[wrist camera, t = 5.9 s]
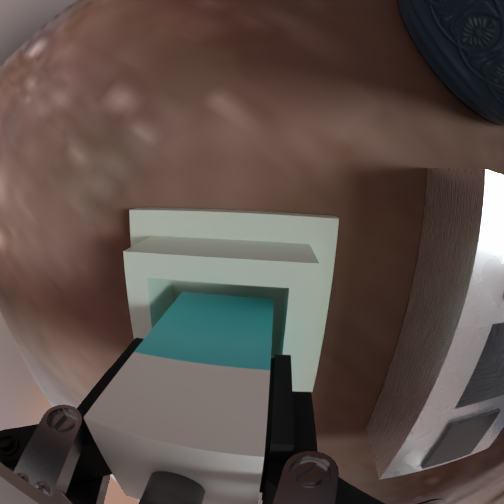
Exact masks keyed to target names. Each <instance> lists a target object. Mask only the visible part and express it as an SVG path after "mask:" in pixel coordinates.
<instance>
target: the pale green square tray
mask: <svg viewBox="0 0 504 504" xmlns="http://www.w3.org/2000/svg"><path fill="white" fill-rule="evenodd" d="M129 216H130V239H131V247H130V248H128V249H126V250H125V251H123V256H124V268H125V278H126V287H127V296H128V304H129V311H130V318H131V325H132V331H133V337H134V339H135V338H142V339H144V338H145V337H146V336H147V335H148V333H149V332H150V331H151V330H152V328H153V327H154V326H155V325H156V323H157V322H158V321H159V320H160V318H161V317H162V316H163V315H164V314H165V312H166V311H167V310H168V309H169V307H170V306H171V305H172V304H173V302H174V301H175V300H176V299H177V298H178V296H179V295H180V294H181V293H182V292H193V293H204V294H216V295H228V296H241V297H254V298H269V299H274V306H273V328H272V348H271V358H275V354H282V355H291V369H292V391H296V392H313V387H314V383H315V378H316V373H317V368H318V363H319V358H320V353H321V347H322V342H323V336H324V331H325V325H326V319H327V312H328V306H329V299H330V292H331V285H332V278H333V270H334V262H335V253H336V244H337V235H338V224H339V219H338V218H337V217H336V216H330V215H316V214H302V213H286V212H269V211H249V210H226V209H196V208H134V209H131V210H129Z"/></svg>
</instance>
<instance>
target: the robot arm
mask: <svg viewBox="0 0 504 504" xmlns="http://www.w3.org/2000/svg"><path fill="white" fill-rule="evenodd" d="M143 340H144V339H142V338H135V339H134V340H133V341H132V343H131V344H130V345H129V346H128V347H127V349H126V350H125V351H124V352H123V353H122V355H121V356H120V357H119V358H118V359H117V361H116V362H115V363H114V364H113V365H112V367H111V368H110V369H109V370H108V371H107V372H106V373H105V374H104V376H103V377H102V378H101V379H100V380H99V382H98V383H97V384H96V385H95V387H94V388H93V389H92V390H91V392H90V393H89V394H88V395H87V397H86V398H85V399H84V400H83V401H82V403H81V404H80V405H79V407H78V408H77V409H76V408H75V407H72V406H69V405H58V406H55V407H52V408H50V409H49V410H48V411H47V412H46V413H45V414H44V416H43V417H42V419H41V421H40V423H39V424H37V425H31V426H25V427H19V428H13V429H6V430H2V431H0V504H104V500H105V496H106V492H107V487H108V484H109V480H110V474H113V473H112V472H111V470H110V468H109V467H108V465H107V463H106V461H105V459H104V458H103V456H102V454H101V452H100V450H99V448H98V446H97V444H96V443H95V441H94V439H93V437H92V434H91V432H90V430H89V428H88V426H87V424H86V422H85V420H84V416H85V415H86V413H87V412H88V411H89V409H90V408H91V407H92V405H93V404H94V403H95V401H96V400H97V399H98V397H99V396H100V395H101V393H102V392H103V391H104V390H105V388H106V387H107V386H108V384H109V383H110V382H111V380H112V379H113V378H114V377H115V375H116V374H117V373H118V371H119V370H120V369H121V368H122V366H123V365H124V364H125V362H126V361H127V360H128V359H129V357H130V356H131V355H132V354H133V352H134V351H135V350H136V348H137V347H138V346H139V345H140V343H141V342H142V341H143ZM338 475H339V472H338V466H337V464H336V462H335V461H334V460H333V459H332V458H331V457H330V456H328V455H326V454H324V453H320V452H317V441H316V431H315V422H314V413H313V404H312V396H311V392H296V391H292V369H291V355H282V354H275V358H271V366H270V383H269V399H268V414H267V429H266V442H265V455H264V463H263V470H262V477H261V484H260V491H259V492H262V500H263V503H262V504H384V503H383V502H381V501H379V500H377V499H375V498H373V497H371V496H370V495H368V494H366V493H364V492H362V491H361V490H359V489H357V488H356V487H354V486H352V485H350V484H349V483H347V482H345V481H344V480H342V479H341V478H339V477H338ZM423 504H445V501H444V500H434V501H429V502H426V503H423Z"/></svg>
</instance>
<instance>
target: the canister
mask: <svg viewBox="0 0 504 504" xmlns="http://www.w3.org/2000/svg"><path fill="white" fill-rule="evenodd" d="M398 5H399V9H400V13H401V16H402V18H403V21H404V23H405V25H406V28H407V30H408V32H409V34H410V36H411V37H412V39H413V41H414V43H415V44H416V46H417V48H418V49H419V51H420V52H421V54H422V55H423V57H424V58H425V60H426V61H427V62H428V64H429V65H430V67H431V68H432V69H433V70H434V72H435V73H436V74H437V75H438V77H439V78H440V79H441V80H442V81H443V82H444V84H445V85H446V86H447V87H448V88H449V89H450V90H451V91H452V92H453V93H454V94H455V95H456V96H457V97H458V98H459V99H460V100H461V101H462V102H463V103H464V104H466V105H467V106H468V107H469V108H470V109H472V110H473V111H474V112H476V113H477V114H479V115H480V116H482V117H483V118H485V119H487V120H489V121H491V122H493V123H496V124H499V125H503V126H504V0H398Z"/></svg>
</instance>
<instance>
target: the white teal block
mask: <svg viewBox="0 0 504 504" xmlns="http://www.w3.org/2000/svg"><path fill="white" fill-rule="evenodd" d="M273 306H274V299H269V298H254V297H241V296H228V295H216V294H204V293H193V292H182V293H181V294H180V295H179V296H178V298H177V299H176V300H175V301H174V302H173V304H172V305H171V306H170V307H169V309H168V310H167V311H166V312H165V314H164V315H163V316H162V317H161V318H160V320H159V321H158V322H157V323H156V325H155V326H154V327H153V328H152V330H151V331H150V332H149V333H148V335H147V336H146V337H145V338H144V340H143V341H142V342H141V343H140V345H139V346H138V347H137V348H136V350H135V351H134V352H133V354H132V355H131V356H130V357H129V359H128V360H127V361H126V362H125V364H124V365H123V366H122V368H121V369H120V370H119V371H118V373H117V374H116V375H115V377H114V378H113V379H112V380H111V382H110V383H109V384H108V386H107V387H106V388H105V390H104V391H103V392H102V393H101V395H100V396H99V397H98V399H97V400H96V401H95V403H94V404H93V405H92V407H91V408H90V409H89V411H88V412H87V413H86V415H85V416H84V420H85V422H86V424H87V426H88V428H89V430H90V432H91V434H92V437H93V439H94V441H95V443H96V444H97V446H98V448H99V450H100V452H101V454H102V456H103V458H104V459H105V461H106V463H107V465H108V467H109V468H110V470H111V472H112V473H113V475H114V477H115V478H116V480H117V482H118V483H119V485H120V486H121V488H122V490H123V491H124V493H125V494H126V495H128V496H130V497H133V498H136V499H139V500H140V502H139V504H258V497H259V491H260V484H261V477H262V470H263V463H264V455H265V442H266V429H267V414H268V399H269V383H270V366H271V348H272V328H273Z"/></svg>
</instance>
